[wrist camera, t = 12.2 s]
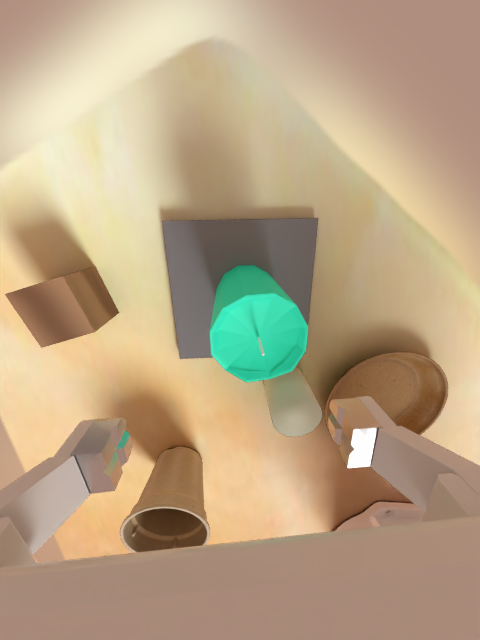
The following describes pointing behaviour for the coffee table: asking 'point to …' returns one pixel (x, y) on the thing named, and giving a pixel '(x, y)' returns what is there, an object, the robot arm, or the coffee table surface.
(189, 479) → the flower pot
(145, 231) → the coffee table surface
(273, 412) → the white rounded capsule
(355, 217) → the coffee table surface
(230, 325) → the candle
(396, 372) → the plant saucer
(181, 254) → the coaster
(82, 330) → the walnut cube
